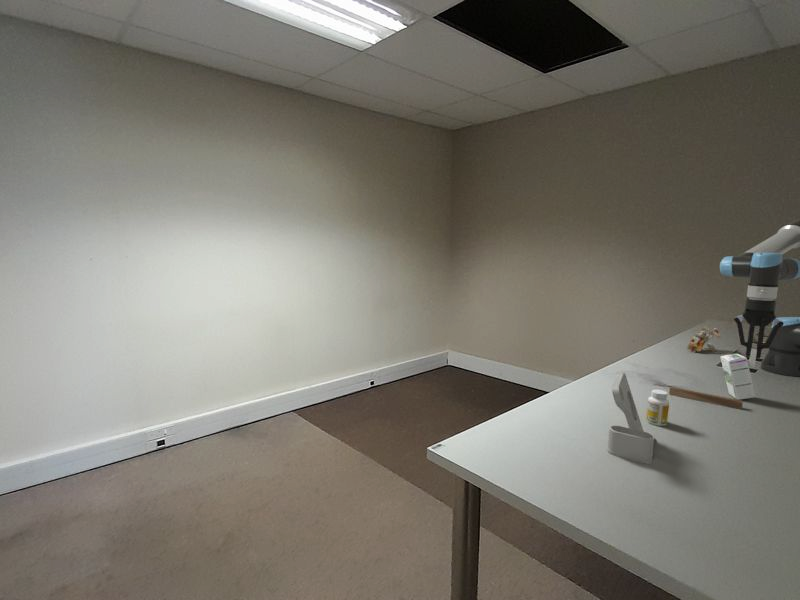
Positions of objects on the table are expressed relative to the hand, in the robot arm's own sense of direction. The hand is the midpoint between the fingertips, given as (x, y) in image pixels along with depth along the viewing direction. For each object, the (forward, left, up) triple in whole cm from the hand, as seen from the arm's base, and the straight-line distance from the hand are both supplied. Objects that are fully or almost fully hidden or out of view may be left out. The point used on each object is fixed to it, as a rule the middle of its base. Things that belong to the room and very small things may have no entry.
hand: (751, 366), depth 140 cm
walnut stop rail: (+12, -11, -12) cm, 20 cm away
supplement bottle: (+42, -21, -12) cm, 48 cm away
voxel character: (-65, -15, -12) cm, 68 cm away
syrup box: (0, -2, -11) cm, 11 cm away
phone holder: (+62, -25, -12) cm, 68 cm away
